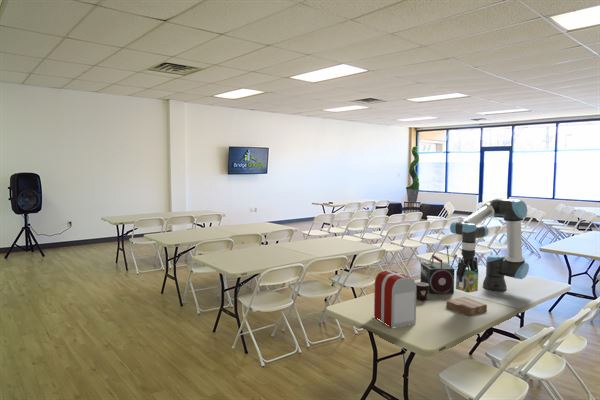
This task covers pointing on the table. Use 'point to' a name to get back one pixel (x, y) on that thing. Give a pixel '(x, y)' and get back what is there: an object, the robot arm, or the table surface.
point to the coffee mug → (421, 291)
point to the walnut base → (466, 306)
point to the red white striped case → (395, 298)
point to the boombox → (438, 276)
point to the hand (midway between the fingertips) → (466, 285)
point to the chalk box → (468, 281)
